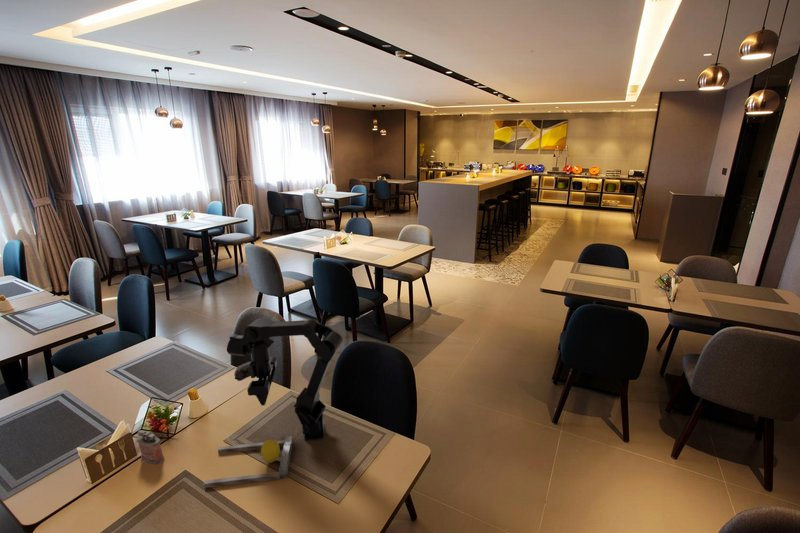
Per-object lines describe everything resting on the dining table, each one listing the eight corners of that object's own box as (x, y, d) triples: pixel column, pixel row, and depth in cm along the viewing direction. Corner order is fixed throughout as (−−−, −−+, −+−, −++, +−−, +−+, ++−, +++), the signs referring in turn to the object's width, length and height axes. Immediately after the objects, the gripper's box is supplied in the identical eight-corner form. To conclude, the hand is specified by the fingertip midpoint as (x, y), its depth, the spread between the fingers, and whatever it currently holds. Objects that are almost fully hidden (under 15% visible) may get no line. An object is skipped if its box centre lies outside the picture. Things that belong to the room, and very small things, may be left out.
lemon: (275, 469, 118) (272, 448, 116) (259, 466, 120) (255, 445, 117) (284, 456, 124) (281, 435, 121) (268, 453, 125) (265, 433, 122)
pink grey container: (167, 457, 123) (161, 431, 120) (157, 465, 120) (151, 439, 117) (148, 451, 126) (142, 426, 123) (138, 459, 123) (131, 433, 120)
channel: (292, 443, 129) (291, 435, 128) (286, 478, 115) (285, 470, 114) (219, 450, 126) (218, 443, 125) (204, 487, 112) (203, 479, 111)
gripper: (242, 344, 136) (247, 383, 141) (227, 374, 119) (234, 417, 124) (274, 342, 138) (279, 380, 143) (264, 371, 120) (270, 413, 125)
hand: (265, 396), depth 133 cm, fingers open, 9 cm apart
